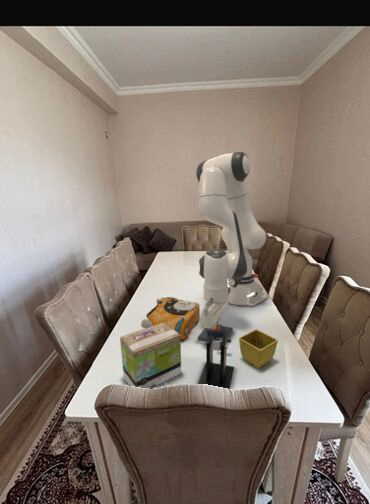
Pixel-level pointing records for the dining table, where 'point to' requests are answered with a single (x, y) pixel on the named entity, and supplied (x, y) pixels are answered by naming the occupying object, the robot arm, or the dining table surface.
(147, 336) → the tea box
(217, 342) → the lever
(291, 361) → the dining table surface
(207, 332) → the button block
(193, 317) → the device
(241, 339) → the flower pot
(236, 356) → the dining table surface
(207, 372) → the bracket
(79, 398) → the dining table surface
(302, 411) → the dining table surface
